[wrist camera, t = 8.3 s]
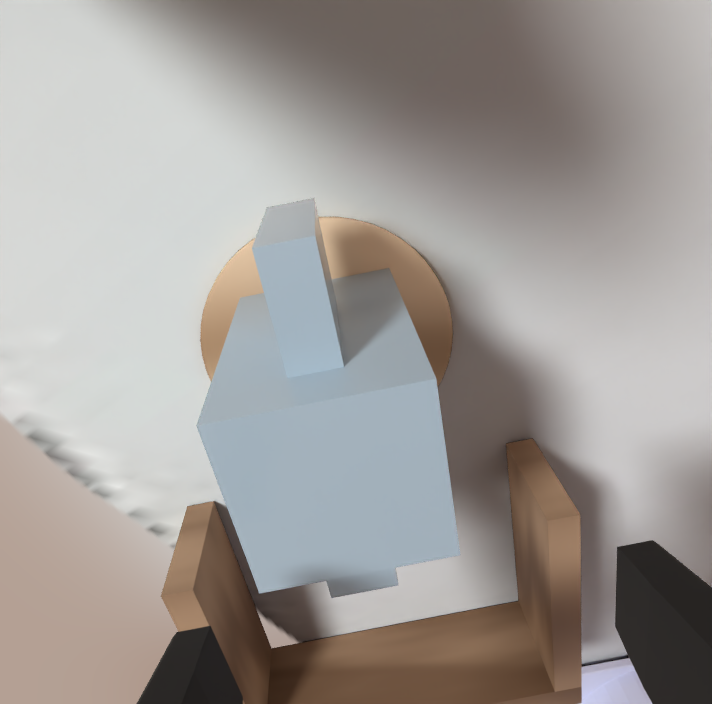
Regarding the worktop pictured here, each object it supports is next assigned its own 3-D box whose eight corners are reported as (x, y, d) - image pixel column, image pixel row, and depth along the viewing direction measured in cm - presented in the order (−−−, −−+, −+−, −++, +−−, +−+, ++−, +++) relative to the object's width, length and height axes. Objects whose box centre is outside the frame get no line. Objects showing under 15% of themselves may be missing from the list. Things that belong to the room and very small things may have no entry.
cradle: (542, 612, 24) (581, 703, 21) (255, 667, 25) (245, 766, 21) (532, 438, 20) (580, 514, 17) (187, 506, 20) (161, 595, 17)
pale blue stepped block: (413, 416, 19) (463, 580, 13) (282, 442, 19) (268, 617, 13) (373, 172, 15) (416, 233, 9) (212, 205, 15) (144, 287, 9)
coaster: (461, 417, 20) (464, 424, 19) (242, 461, 20) (240, 468, 19) (434, 191, 16) (437, 194, 16) (167, 246, 16) (163, 249, 16)
